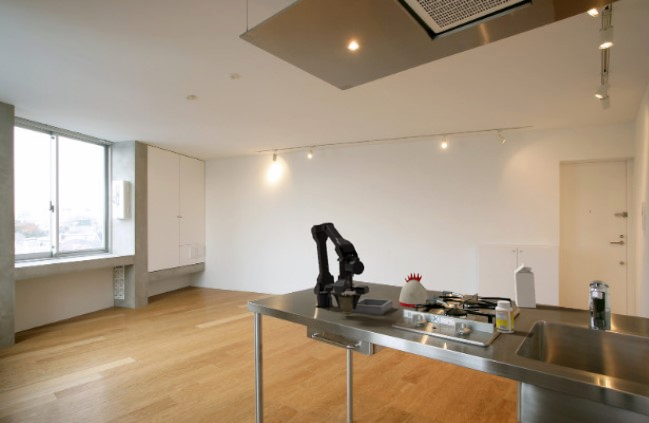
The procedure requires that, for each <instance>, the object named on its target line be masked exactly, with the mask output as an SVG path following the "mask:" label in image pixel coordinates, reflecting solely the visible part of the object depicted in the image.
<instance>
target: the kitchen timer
mask: <svg viewBox="0 0 649 423" xmlns="http://www.w3.org/2000/svg"><path fill="white" fill-rule="evenodd" d="M422 278H423V276H422V275H420V273H417V275H416V273H415V272H413V274H412V272H411V273H410V275H407V278H406V277H404V280H405V283H404V285H403V286H402V288H401V290H400V293H399V302H398V305H399V306H401V307H405V308H414V307H415V305H417V304H425V303H426V300H427V299H429V300H430V298H429V295H428V291H427V288H426V287H425V286H424V285H423V284H422V283H421V280H422ZM407 279H408V280H407ZM414 309H415V308H414Z"/></svg>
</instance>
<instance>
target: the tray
mask: <svg viewBox="0 0 649 423" xmlns="http://www.w3.org/2000/svg"><path fill="white" fill-rule="evenodd" d="M393 306H394V305H393V300H392V299H382V298H370V297H369V298H366V297H364V298H362V299H359V301H358V304H357V306H356V309H355V310H354V309H353V310H351V311H352V313H357V314H365V315H366V314H368V315H377V316H378V315H379V316H384V314H386V313H388V312H389V311H390V310H392V309H393Z"/></svg>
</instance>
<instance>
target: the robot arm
mask: <svg viewBox="0 0 649 423" xmlns="http://www.w3.org/2000/svg"><path fill="white" fill-rule="evenodd" d="M310 233H311V236H312V240H314V242H315V243H316V251H317V252H316V254H317V263H318V272H319V273H318V274H317V277H316V284H315V285H314V287H313V293H314V295H316V305H315V308H319V309H322V308H323V309H329V308H331V307H334V304H333V297H334V299H335V301H336V304H337V306H338V309H339V310H340V309H341V308H340V305H339V299H338V296H339V295H340V294H345V293H346V292H354V293H352V294H351V295H352V296H353V309H354V310H355V309H356V306H357V304H358V301H360V300H361V296H362V295H363V296H364V295H366V294H368V293H370V287H369V285H365V284H364V285H363V284H362V285H361V284H360V285H357V286H355V283H354V279H353V278H354V277H355V275H356V276H360V275H362V274H363V273H364V271H365V264H364V262H362V261H361V260H360V259H361V258H360V257H359V253H358V252H357V251H356V248H355V246H354V244H353V242H351V241H350V240H348V239H345V238H344V237H343V236H342V235H341V233H340V232H339V230H338V229H337V228H336V227H335V225H334V223H333V222H331V221H330V222H328V221H327V222H323V223H319V224H313V225H312V227H311V228H310ZM328 239H329V240H330V241H331V243H332V244H333V245H334V251H335V254H336V255H337V257H338V258H336V261H337V262H338V267H339V268H338V270H339V272H338V273H339V274H338V275H337V280H336V281H335V277H334V276H335V275H333V274H331V272H330V264H329V258H328V257H329V255H328V246H327V241H328ZM332 296H333V297H332Z"/></svg>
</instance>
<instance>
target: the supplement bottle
mask: <svg viewBox="0 0 649 423" xmlns="http://www.w3.org/2000/svg"><path fill="white" fill-rule="evenodd" d="M496 305H497V306H495V309H494V310H495V324H496V330H497V331H498V332H499V333H502V334H503V333H504V334H513V333H514V332H515V318H514V309H513V307H512V306H511V301H509V300H497V304H496Z"/></svg>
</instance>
